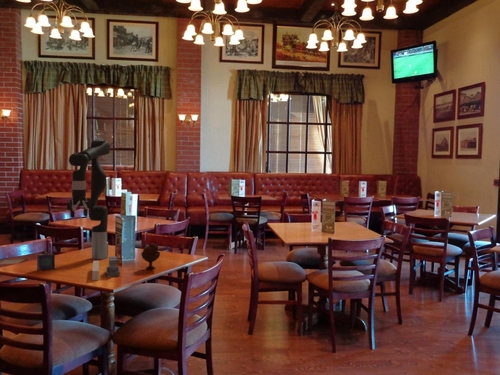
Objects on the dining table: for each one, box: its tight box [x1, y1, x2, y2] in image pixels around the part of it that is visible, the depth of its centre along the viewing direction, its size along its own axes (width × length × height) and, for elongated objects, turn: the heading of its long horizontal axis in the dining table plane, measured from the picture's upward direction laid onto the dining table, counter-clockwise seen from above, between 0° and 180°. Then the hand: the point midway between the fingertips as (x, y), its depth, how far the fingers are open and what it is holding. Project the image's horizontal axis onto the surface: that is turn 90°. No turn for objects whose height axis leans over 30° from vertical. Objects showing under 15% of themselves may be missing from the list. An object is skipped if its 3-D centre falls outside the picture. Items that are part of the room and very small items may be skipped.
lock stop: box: [108, 255, 118, 272], centre depth 250 cm, size 10×4×8 cm, turn 18°
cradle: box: [105, 265, 121, 278], centre depth 251 cm, size 13×7×2 cm, turn 18°
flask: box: [36, 250, 56, 271], centre depth 256 cm, size 9×3×11 cm, turn 109°
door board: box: [91, 260, 100, 281], centre depth 248 cm, size 24×3×5 cm, turn 18°
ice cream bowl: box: [141, 243, 161, 271], centre depth 263 cm, size 11×11×15 cm
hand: (79, 216), depth 259 cm, fingers open, 8 cm apart
